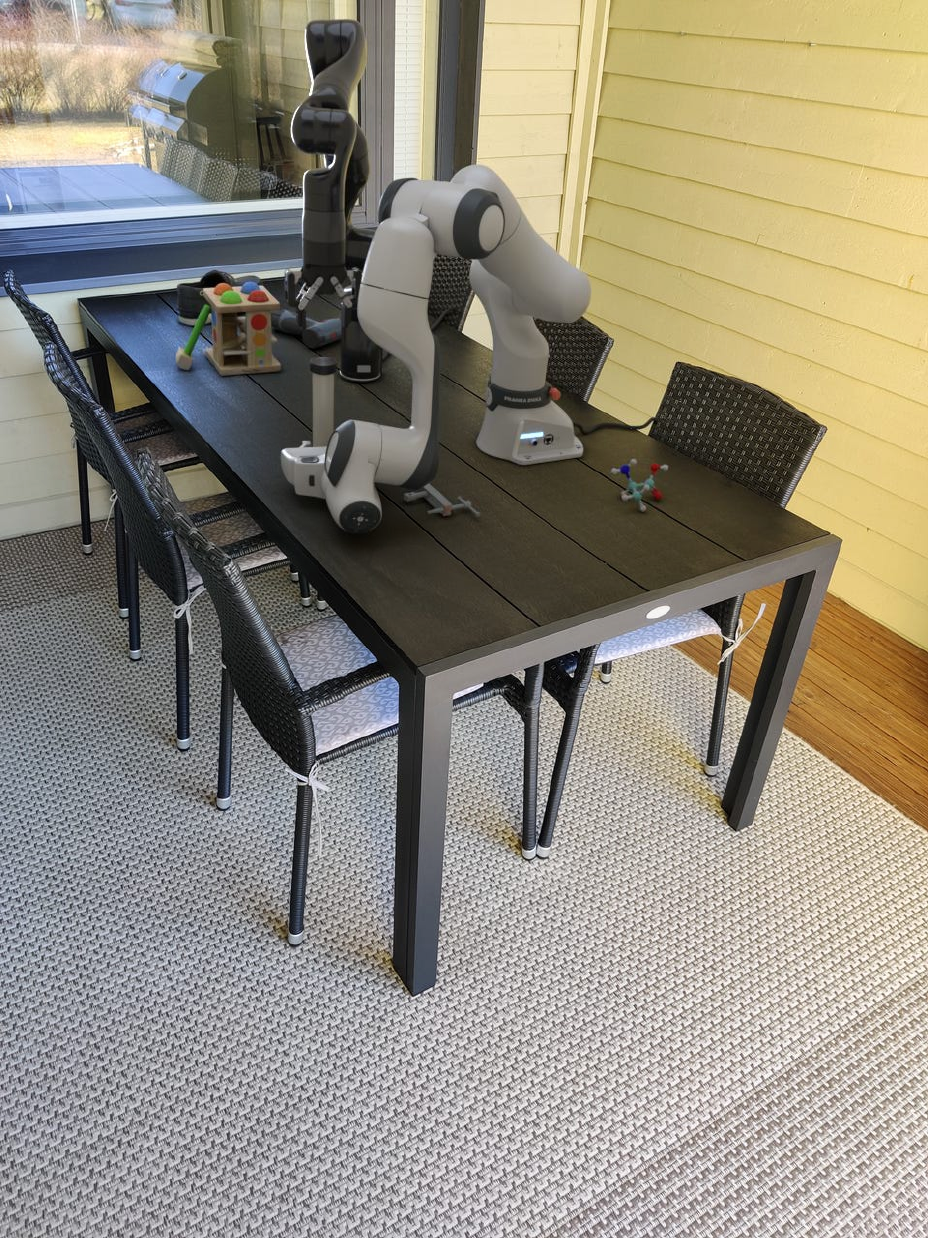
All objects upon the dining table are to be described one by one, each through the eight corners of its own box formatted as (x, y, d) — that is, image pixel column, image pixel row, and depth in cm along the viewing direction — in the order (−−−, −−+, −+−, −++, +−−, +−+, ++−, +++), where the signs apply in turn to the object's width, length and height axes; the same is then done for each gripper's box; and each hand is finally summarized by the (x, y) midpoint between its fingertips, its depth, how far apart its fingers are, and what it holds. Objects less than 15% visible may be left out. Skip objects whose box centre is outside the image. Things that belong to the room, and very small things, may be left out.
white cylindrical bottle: (336, 451, 197) (337, 361, 186) (328, 459, 193) (329, 368, 183) (317, 447, 197) (317, 358, 187) (309, 455, 194) (308, 364, 184)
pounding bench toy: (183, 379, 220) (176, 299, 210) (169, 357, 231) (162, 280, 221) (282, 371, 230) (280, 294, 220) (264, 350, 240) (262, 276, 230)
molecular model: (670, 504, 181) (654, 452, 180) (621, 519, 184) (605, 468, 183) (677, 496, 191) (662, 447, 190) (631, 511, 195) (616, 462, 194)
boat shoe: (283, 304, 273) (281, 265, 267) (196, 327, 249) (192, 285, 243) (249, 295, 278) (246, 257, 273) (160, 318, 255) (156, 277, 249)
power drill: (305, 316, 264) (364, 334, 256) (257, 332, 251) (318, 351, 243) (305, 296, 261) (365, 314, 253) (257, 311, 248) (318, 330, 240)
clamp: (395, 482, 182) (442, 474, 187) (394, 493, 183) (441, 484, 188) (433, 519, 172) (482, 509, 176) (432, 530, 173) (481, 520, 178)
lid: (340, 368, 187) (340, 359, 186) (330, 377, 183) (330, 367, 182) (316, 364, 188) (316, 354, 187) (305, 372, 184) (305, 362, 183)
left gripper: (355, 228, 177) (354, 319, 187) (278, 230, 172) (280, 322, 181) (369, 239, 172) (366, 332, 181) (289, 241, 166) (291, 336, 176)
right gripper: (401, 457, 176) (385, 425, 186) (286, 462, 170) (276, 429, 181) (399, 488, 179) (384, 456, 190) (287, 495, 174) (277, 461, 184)
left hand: (323, 327), depth 181 cm, fingers open, 7 cm apart
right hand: (330, 443), depth 185 cm, fingers open, 8 cm apart
